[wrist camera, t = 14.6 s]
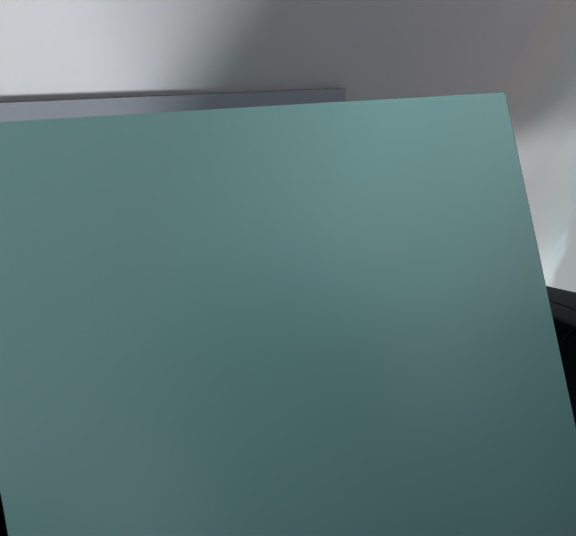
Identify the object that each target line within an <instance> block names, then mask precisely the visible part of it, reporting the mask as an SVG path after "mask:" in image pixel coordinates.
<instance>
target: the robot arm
mask: <svg viewBox="0 0 576 536" xmlns="http://www.w3.org/2000/svg"><path fill="white" fill-rule="evenodd" d="M546 289H547V294H548V299H549V303H550V308H551V313H552V317H553V322H554V327H555V332H556V336H557V341H558V346H559V351H560V355H561V360H562V365H563V370H564V374H565V379H566V384H567V388H568V393H569V398H570V403H571V407H572V412H573V417H574V422H575V426H576V292H571V291H566V290H562V289H557V288H553V287H548V286H546Z"/></svg>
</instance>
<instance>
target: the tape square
mask: <svg viewBox="0 0 576 536" xmlns="http://www.w3.org/2000/svg"><path fill="white" fill-rule="evenodd" d="M344 95H345V88H337V89H313V90H290V91H266V92H243V93H219V94H196V95H173V96H149V97H126V98H102V99H79V100H56V101H32V102H9V103H0V122H7V121H24V120H41V119H58V118H75V117H92V116H109V115H125V114H142V113H159V112H176V111H193V110H210V109H227V108H244V107H261V106H278V105H295V104H311V103H328V102H344Z"/></svg>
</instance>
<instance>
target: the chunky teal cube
mask: <svg viewBox="0 0 576 536" xmlns="http://www.w3.org/2000/svg"><path fill="white" fill-rule="evenodd" d="M0 536H576V426H575V422H574V417H573V412H572V407H571V403H570V398H569V393H568V388H567V384H566V379H565V374H564V370H563V365H562V360H561V355H560V351H559V346H558V341H557V336H556V332H555V327H554V322H553V317H552V313H551V308H550V303H549V299H548V294H547V289H546V284H545V280H544V275H543V270H542V265H541V261H540V256H539V251H538V246H537V242H536V237H535V232H534V227H533V223H532V218H531V213H530V209H529V204H528V199H527V194H526V190H525V185H524V180H523V175H522V171H521V166H520V161H519V156H518V152H517V147H516V142H515V137H514V133H513V128H512V123H511V119H510V114H509V109H508V104H507V100H506V95H505V92H498V93H481V94H464V95H447V96H430V97H413V98H396V99H379V100H362V101H345V102H328V103H311V104H295V105H278V106H261V107H244V108H227V109H210V110H193V111H176V112H159V113H142V114H125V115H109V116H92V117H75V118H58V119H41V120H24V121H7V122H0Z"/></svg>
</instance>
